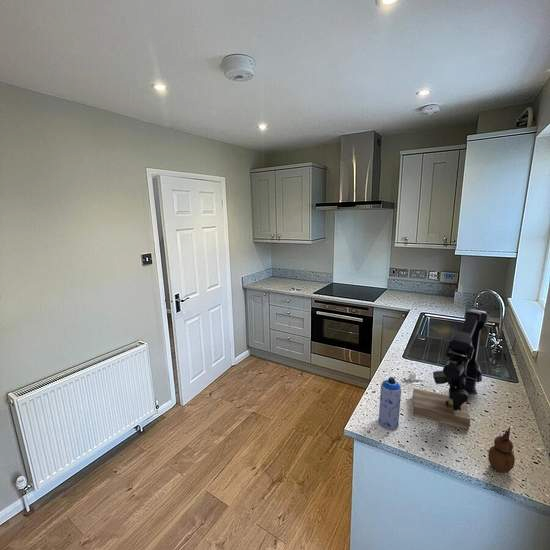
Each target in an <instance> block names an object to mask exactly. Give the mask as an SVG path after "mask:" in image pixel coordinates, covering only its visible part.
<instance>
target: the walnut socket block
mask: <svg viewBox="0 0 550 550" xmlns="http://www.w3.org/2000/svg"><path fill="white" fill-rule="evenodd" d="M448 399H449V394H448V395H447V394H443V393H438V392H433V391H429V390H423V389H420V388H414V387H413V390H412V416H413V417H417V418H421V419H424V420H429V421H433V422H437V423H442V424H445V425H450V426H454V427H456V428H457V427H458V428H461V429H466V430H470V427H471V426H470V425H471V416H470V413H469V409H468V405H467V402H465V403H463V404H462V405H461V406H460V407H459V409H458V410H454V409H451V408H448V406H449V405H448Z"/></svg>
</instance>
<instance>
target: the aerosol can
mask: <svg viewBox="0 0 550 550" xmlns="http://www.w3.org/2000/svg"><path fill="white" fill-rule="evenodd" d="M379 394H380V396H379V408H378V409H379V411H378V419H377V424H378V425H379V426H380V427H381V428H382V427H383V429H384V428H385V429H384V430H387V431H396V430H398V429H399V426H400V423H399V422H400V410H401V397H402V387H401V384H400V383H399V382H398V381H396V379H395V377H393V376H390V377H388V379H385V380H384V381H382V382H381V385H380V393H379Z"/></svg>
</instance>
